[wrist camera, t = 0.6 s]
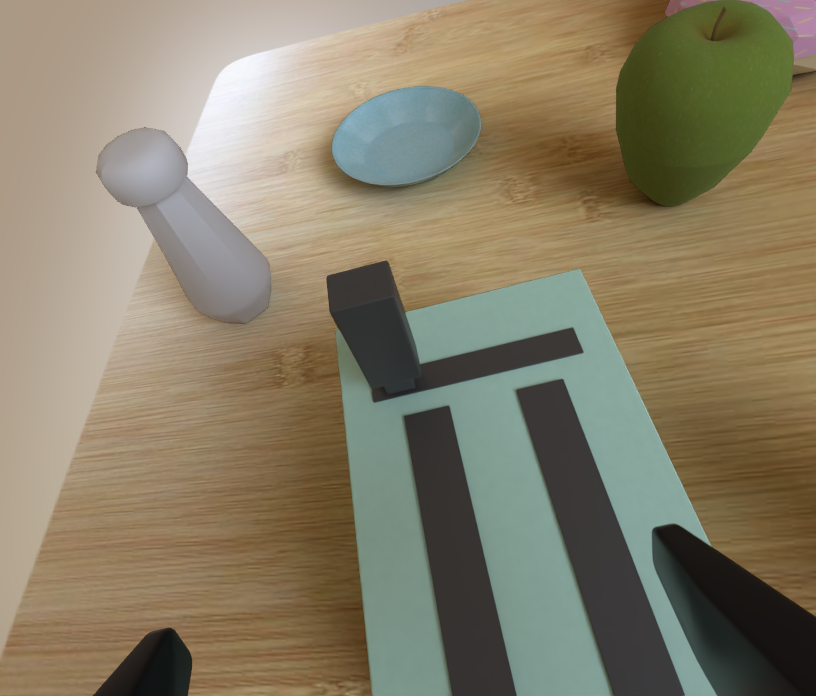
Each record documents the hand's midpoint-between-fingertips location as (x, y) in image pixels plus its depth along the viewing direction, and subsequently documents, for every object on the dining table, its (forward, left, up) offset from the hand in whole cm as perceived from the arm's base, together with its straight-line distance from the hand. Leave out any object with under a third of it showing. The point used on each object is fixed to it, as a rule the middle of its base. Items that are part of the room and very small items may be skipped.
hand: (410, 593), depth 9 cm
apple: (+23, -19, -16) cm, 34 cm away
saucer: (+34, -3, -16) cm, 38 cm away
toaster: (+4, -3, -16) cm, 17 cm away
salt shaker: (+23, +11, -16) cm, 31 cm away
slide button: (+9, 0, -7) cm, 11 cm away
